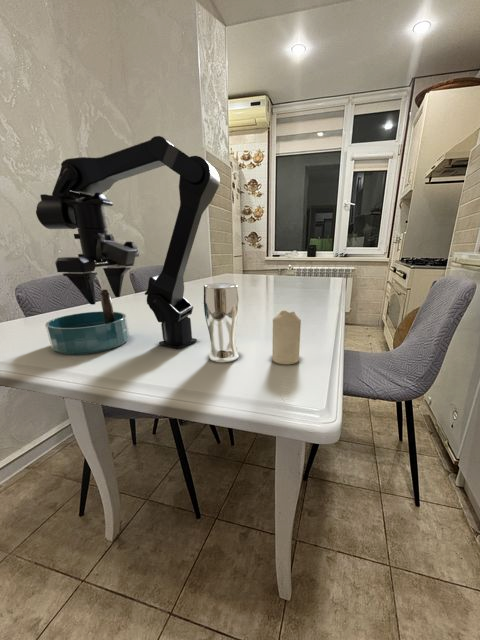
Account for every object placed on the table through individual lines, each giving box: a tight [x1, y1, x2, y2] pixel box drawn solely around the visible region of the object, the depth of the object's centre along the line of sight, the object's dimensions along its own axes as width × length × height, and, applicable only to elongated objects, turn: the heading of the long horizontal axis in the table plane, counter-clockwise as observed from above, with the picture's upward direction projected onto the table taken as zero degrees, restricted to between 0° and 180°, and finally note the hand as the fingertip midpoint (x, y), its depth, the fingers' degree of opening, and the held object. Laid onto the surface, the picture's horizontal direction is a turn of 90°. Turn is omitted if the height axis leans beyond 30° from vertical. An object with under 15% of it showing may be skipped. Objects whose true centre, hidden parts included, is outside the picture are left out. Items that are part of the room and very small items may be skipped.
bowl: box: [45, 310, 130, 355], centre depth 69 cm, size 16×16×6 cm
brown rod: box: [99, 288, 115, 324], centre depth 70 cm, size 3×3×12 cm
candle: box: [271, 310, 302, 365], centre depth 58 cm, size 6×6×10 cm
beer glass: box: [203, 282, 240, 363], centre depth 59 cm, size 7×7×15 cm
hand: (106, 300), depth 69 cm, fingers open, 9 cm apart
